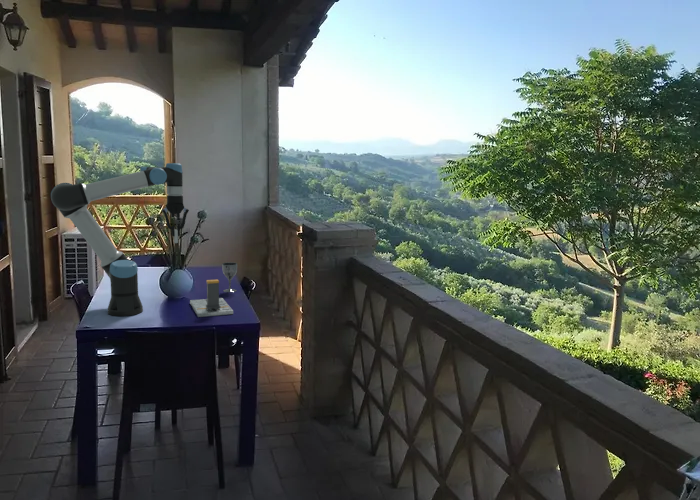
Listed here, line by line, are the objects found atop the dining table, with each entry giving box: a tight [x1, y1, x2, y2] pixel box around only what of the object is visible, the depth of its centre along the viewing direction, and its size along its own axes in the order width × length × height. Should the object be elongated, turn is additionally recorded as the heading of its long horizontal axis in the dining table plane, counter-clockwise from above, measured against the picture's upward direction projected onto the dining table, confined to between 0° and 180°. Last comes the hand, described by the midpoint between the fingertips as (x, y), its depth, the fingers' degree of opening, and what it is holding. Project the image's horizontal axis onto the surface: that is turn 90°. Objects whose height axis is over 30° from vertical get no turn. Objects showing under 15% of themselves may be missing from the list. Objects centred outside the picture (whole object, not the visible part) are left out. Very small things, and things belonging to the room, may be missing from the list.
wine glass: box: [221, 261, 238, 293], centre depth 309 cm, size 8×8×15 cm
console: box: [189, 297, 234, 318], centre depth 273 cm, size 16×26×2 cm, turn 23°
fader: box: [206, 278, 221, 309], centre depth 267 cm, size 6×5×13 cm
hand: (176, 242), depth 283 cm, fingers closed
